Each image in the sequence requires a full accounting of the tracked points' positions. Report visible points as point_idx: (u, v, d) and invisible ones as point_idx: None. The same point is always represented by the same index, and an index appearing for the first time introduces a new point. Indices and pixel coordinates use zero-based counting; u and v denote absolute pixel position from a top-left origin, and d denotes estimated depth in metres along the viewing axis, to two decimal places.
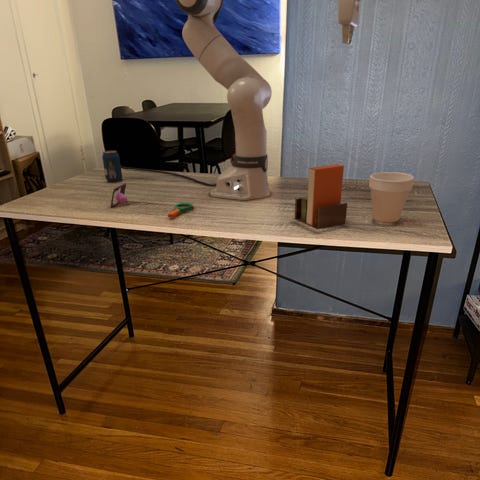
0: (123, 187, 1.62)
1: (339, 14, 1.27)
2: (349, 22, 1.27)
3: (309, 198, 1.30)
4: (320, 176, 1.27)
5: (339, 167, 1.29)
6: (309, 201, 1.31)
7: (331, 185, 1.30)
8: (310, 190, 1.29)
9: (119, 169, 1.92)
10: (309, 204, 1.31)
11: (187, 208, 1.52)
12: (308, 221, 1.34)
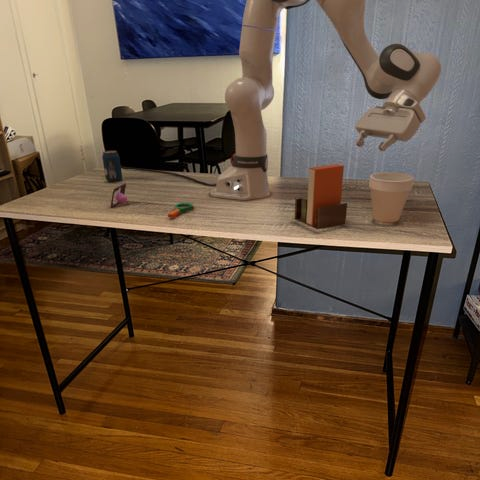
0: (123, 187, 1.62)
1: (408, 127, 1.24)
2: (406, 140, 1.26)
3: (309, 198, 1.30)
4: (320, 176, 1.27)
5: (339, 167, 1.29)
6: (309, 201, 1.31)
7: (331, 185, 1.30)
8: (310, 190, 1.29)
9: (119, 169, 1.92)
10: (309, 204, 1.31)
11: (187, 208, 1.52)
12: (308, 221, 1.34)
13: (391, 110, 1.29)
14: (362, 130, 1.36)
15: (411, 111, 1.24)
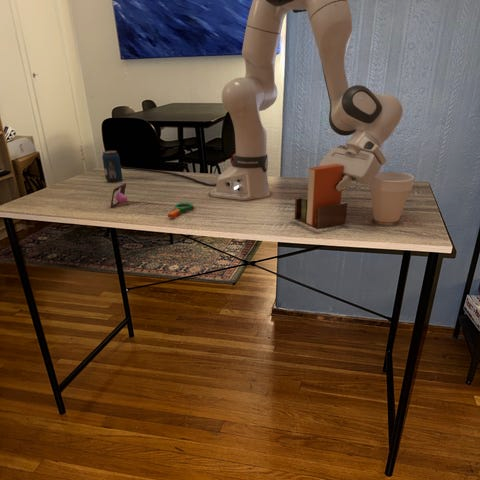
0: (123, 187, 1.62)
1: (367, 171, 1.23)
2: (366, 183, 1.26)
3: (309, 198, 1.30)
4: (320, 176, 1.27)
5: (339, 167, 1.29)
6: (309, 201, 1.31)
7: (331, 185, 1.30)
8: (310, 190, 1.29)
9: (119, 169, 1.92)
10: (309, 204, 1.31)
11: (187, 208, 1.52)
12: (308, 221, 1.34)
13: (352, 152, 1.29)
14: None
15: (371, 155, 1.24)
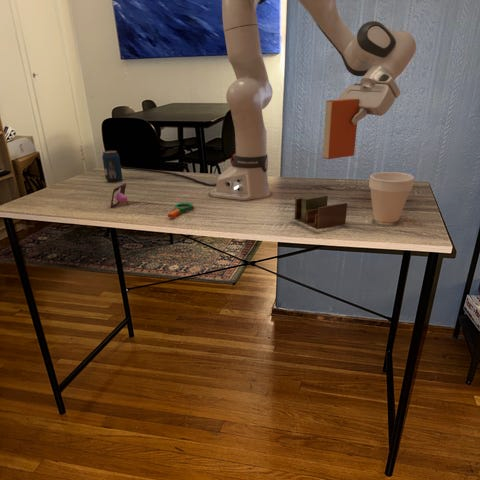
0: (123, 187, 1.62)
1: (382, 101, 1.29)
2: (381, 114, 1.31)
3: (326, 131, 1.36)
4: (337, 108, 1.32)
5: (354, 101, 1.34)
6: (326, 134, 1.36)
7: (347, 118, 1.35)
8: (327, 123, 1.35)
9: (119, 169, 1.92)
10: (326, 137, 1.37)
11: (187, 208, 1.52)
12: (324, 155, 1.39)
13: (368, 86, 1.34)
14: None
15: (386, 86, 1.29)
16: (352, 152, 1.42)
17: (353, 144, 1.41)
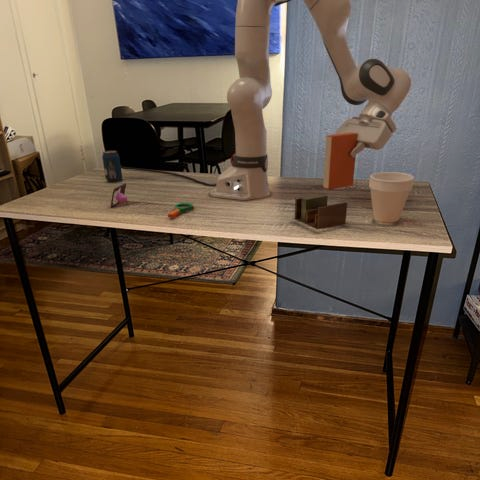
0: (123, 187, 1.62)
1: (379, 137, 1.36)
2: (378, 148, 1.38)
3: (326, 164, 1.43)
4: (337, 142, 1.40)
5: (353, 135, 1.41)
6: (326, 166, 1.44)
7: (346, 152, 1.43)
8: (327, 156, 1.42)
9: (119, 169, 1.92)
10: (326, 169, 1.44)
11: (187, 208, 1.52)
12: (325, 185, 1.47)
13: (365, 121, 1.42)
14: None
15: (383, 122, 1.37)
16: (350, 182, 1.49)
17: (352, 175, 1.48)
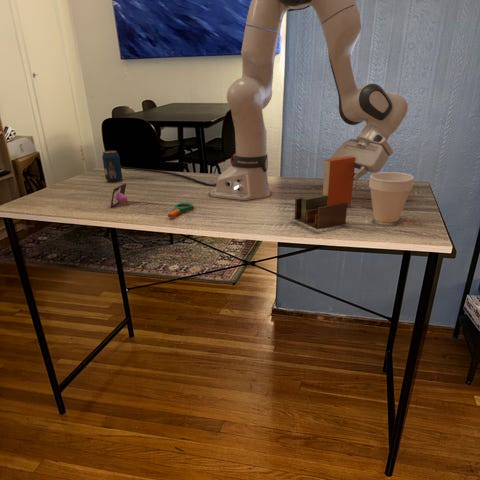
0: (123, 187, 1.62)
1: (376, 160, 1.39)
2: (375, 172, 1.42)
3: (325, 186, 1.47)
4: (335, 166, 1.43)
5: (351, 159, 1.45)
6: (324, 189, 1.47)
7: (344, 175, 1.46)
8: (325, 179, 1.46)
9: (119, 169, 1.92)
10: (324, 192, 1.48)
11: (187, 208, 1.52)
12: None
13: (363, 144, 1.45)
14: None
15: (380, 146, 1.40)
16: (348, 203, 1.52)
17: (350, 197, 1.51)
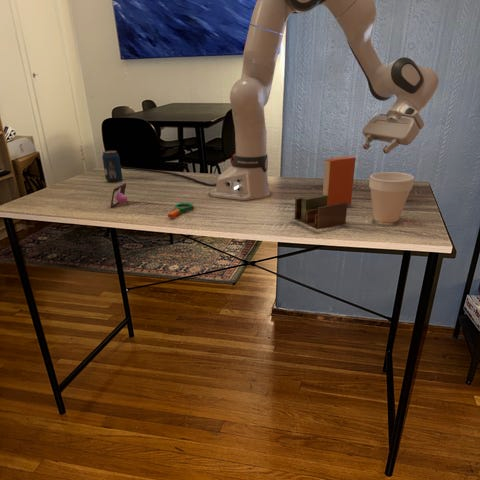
0: (123, 187, 1.62)
1: (408, 133, 1.42)
2: (407, 144, 1.44)
3: (325, 186, 1.47)
4: (335, 166, 1.43)
5: (351, 159, 1.45)
6: (324, 189, 1.47)
7: (344, 175, 1.46)
8: (325, 179, 1.46)
9: (119, 169, 1.92)
10: (324, 192, 1.48)
11: (187, 208, 1.52)
12: None
13: (394, 118, 1.47)
14: (368, 135, 1.55)
15: (412, 119, 1.42)
16: (348, 203, 1.52)
17: (350, 197, 1.51)
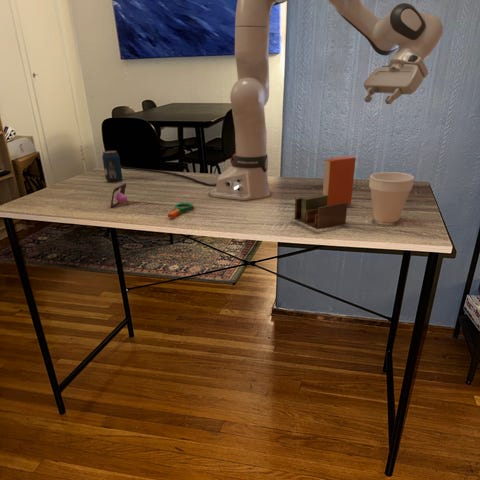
0: (123, 187, 1.62)
1: (412, 80, 1.36)
2: (410, 93, 1.38)
3: (325, 186, 1.47)
4: (335, 166, 1.43)
5: (351, 159, 1.45)
6: (324, 189, 1.47)
7: (344, 175, 1.46)
8: (325, 179, 1.46)
9: (119, 169, 1.92)
10: (324, 192, 1.48)
11: (187, 208, 1.52)
12: None
13: (397, 67, 1.41)
14: (370, 87, 1.49)
15: (415, 66, 1.36)
16: (348, 203, 1.52)
17: (350, 197, 1.51)
